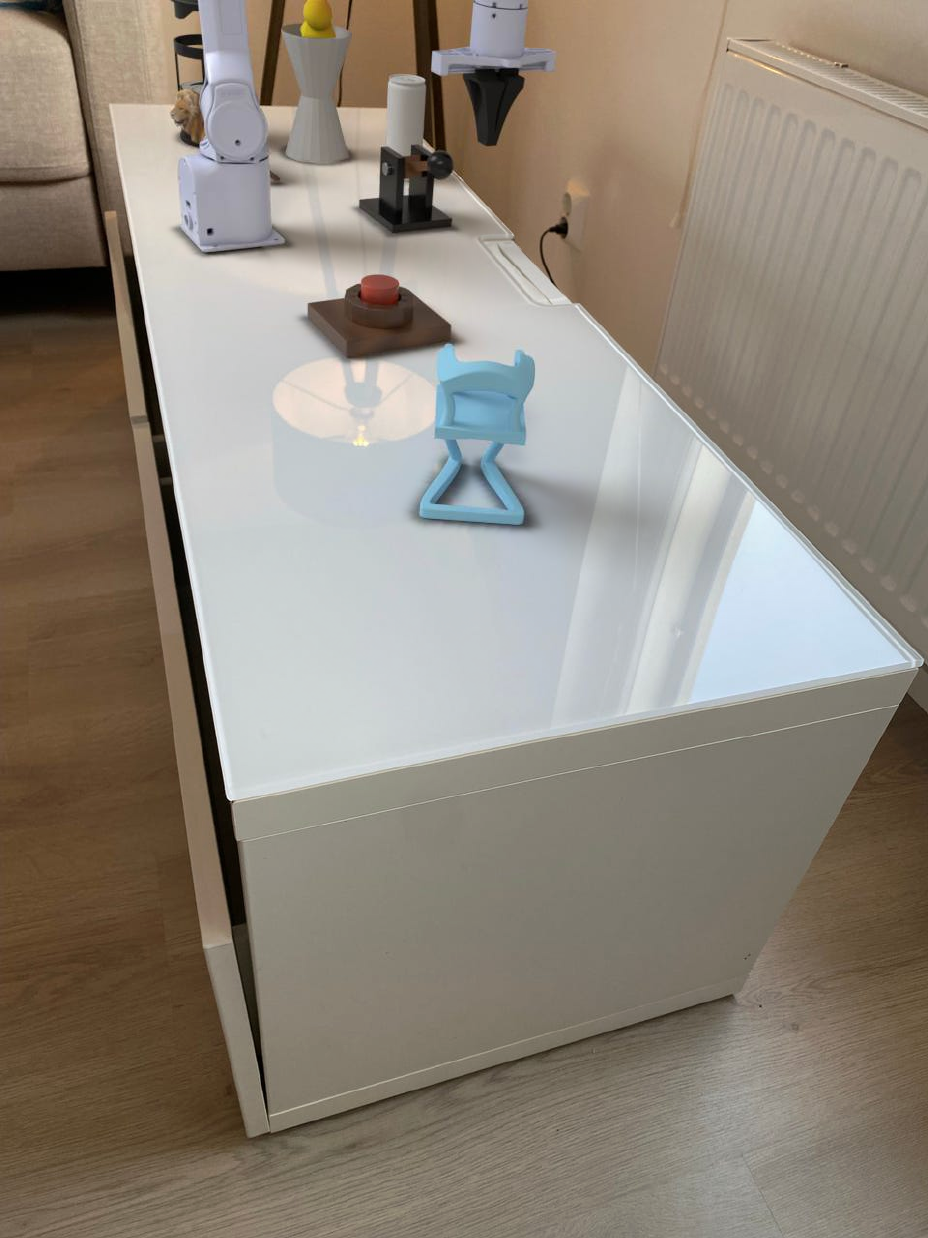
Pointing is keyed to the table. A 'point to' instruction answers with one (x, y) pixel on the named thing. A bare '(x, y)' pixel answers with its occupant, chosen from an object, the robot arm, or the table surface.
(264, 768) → the table surface
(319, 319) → the button block
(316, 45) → the grey hourglass vase
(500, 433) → the chair
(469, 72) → the robot arm
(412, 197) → the bracket
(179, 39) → the french press
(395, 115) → the beverage can
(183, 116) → the lion figurine
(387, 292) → the button
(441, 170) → the lever
